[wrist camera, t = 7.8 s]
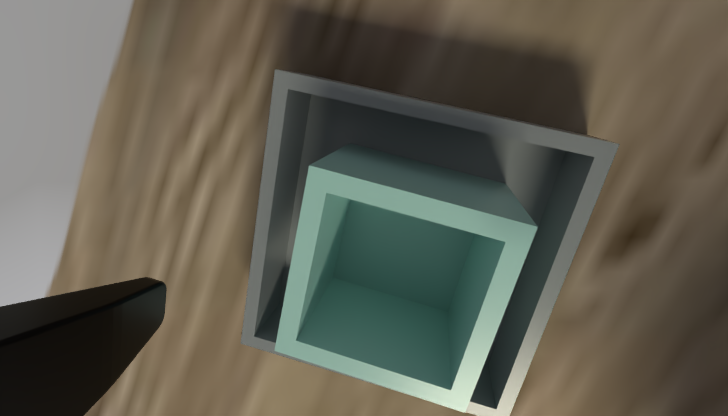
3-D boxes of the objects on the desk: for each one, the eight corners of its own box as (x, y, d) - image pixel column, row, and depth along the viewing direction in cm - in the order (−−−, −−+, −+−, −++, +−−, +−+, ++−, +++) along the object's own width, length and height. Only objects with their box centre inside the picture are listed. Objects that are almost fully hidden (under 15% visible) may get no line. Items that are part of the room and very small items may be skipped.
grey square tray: (583, 133, 14) (619, 144, 11) (494, 369, 17) (506, 424, 14) (305, 73, 15) (275, 69, 12) (271, 304, 18) (240, 343, 16)
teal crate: (506, 183, 15) (537, 226, 10) (457, 320, 16) (465, 413, 12) (349, 143, 15) (308, 165, 10) (320, 279, 17) (274, 350, 12)
